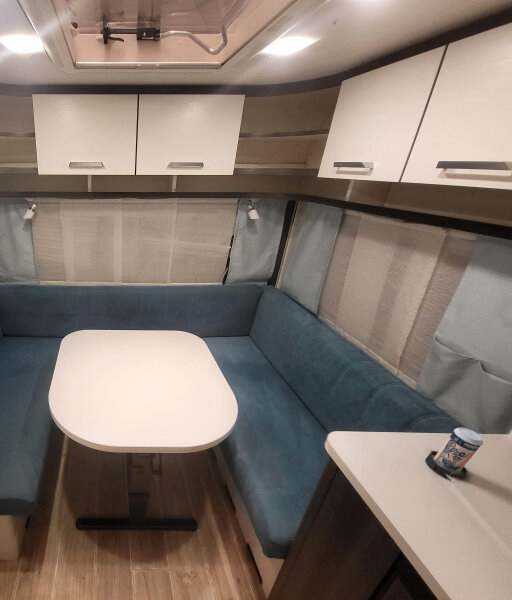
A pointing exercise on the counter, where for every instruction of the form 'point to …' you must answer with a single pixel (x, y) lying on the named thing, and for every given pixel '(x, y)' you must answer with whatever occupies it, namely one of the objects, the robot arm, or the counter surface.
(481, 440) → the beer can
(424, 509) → the counter surface
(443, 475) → the black ring
